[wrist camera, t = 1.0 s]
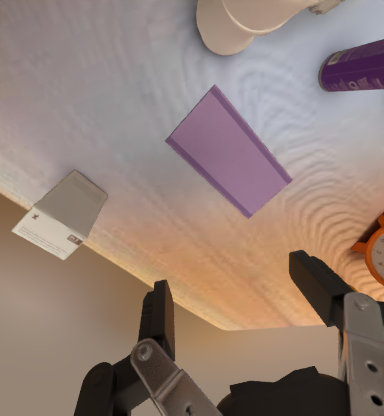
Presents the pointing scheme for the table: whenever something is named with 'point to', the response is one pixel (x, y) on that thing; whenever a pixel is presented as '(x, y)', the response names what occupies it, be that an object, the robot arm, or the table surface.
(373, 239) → the alarm clock
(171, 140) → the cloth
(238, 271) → the table surface
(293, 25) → the table surface
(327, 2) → the figurine
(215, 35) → the water bottle
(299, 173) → the table surface
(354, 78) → the container
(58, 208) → the cosmetic box
